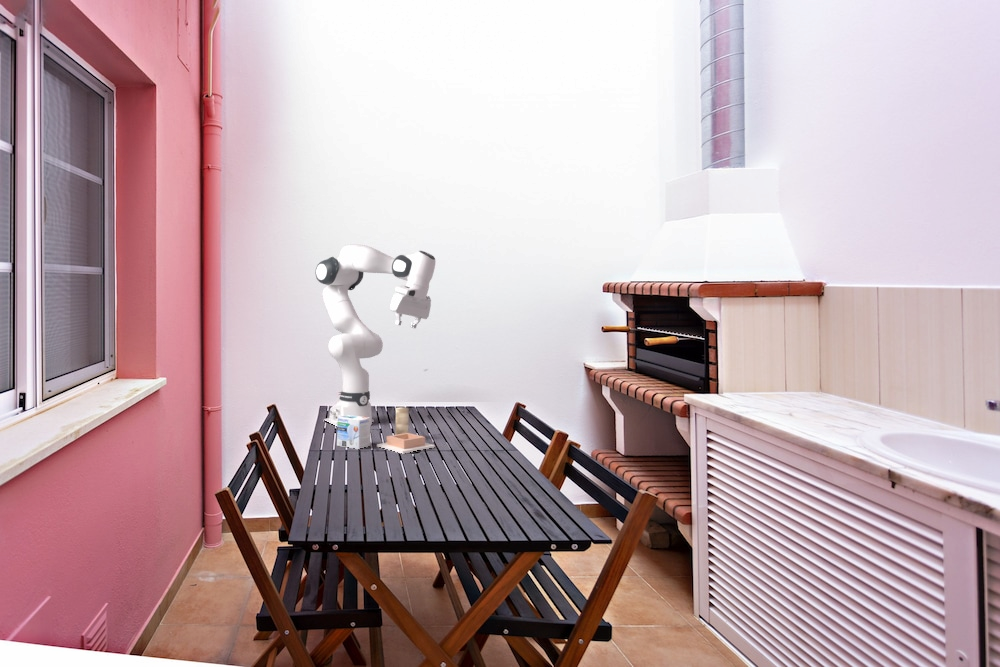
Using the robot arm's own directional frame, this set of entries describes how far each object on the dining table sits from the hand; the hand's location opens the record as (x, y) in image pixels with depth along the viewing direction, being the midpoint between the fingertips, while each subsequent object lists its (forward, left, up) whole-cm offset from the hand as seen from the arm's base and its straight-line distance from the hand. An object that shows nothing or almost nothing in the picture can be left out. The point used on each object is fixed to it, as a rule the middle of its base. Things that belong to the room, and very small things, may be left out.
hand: (405, 326), depth 278 cm
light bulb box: (+2, -25, -44) cm, 50 cm away
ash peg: (+4, -4, -43) cm, 44 cm away
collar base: (+16, -12, -43) cm, 48 cm away
